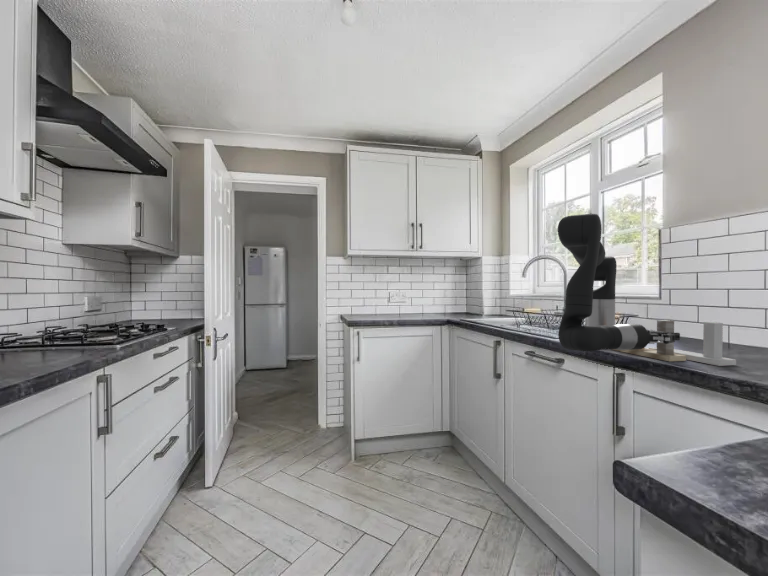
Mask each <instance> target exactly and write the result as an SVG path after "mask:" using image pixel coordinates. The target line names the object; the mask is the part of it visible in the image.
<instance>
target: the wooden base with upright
mask: <svg viewBox="0 0 768 576" xmlns="http://www.w3.org/2000/svg"><path fill="white" fill-rule="evenodd" d="M656 331H663V332H664V333H667V332H669V333H675V320H669V319H668V320H665V319H658V320H656ZM656 347H657V350H652V349H649V348H646V347H645V348H643V349H634V350H616V349H610V350H612V351H617V352H621V353H627V354H630V355H631V354H632V355H636V356H642V357H645V358H649V359H650V358H651V359H655V360H660V361H665V362H686V361H687V360H686V356H685V355H680V354H674V349H675V342H673V343H669V344H665V343H656Z"/></svg>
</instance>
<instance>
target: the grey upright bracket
mask: <svg viewBox="0 0 768 576" xmlns="http://www.w3.org/2000/svg"><path fill="white" fill-rule="evenodd" d="M723 324H724V323H723V322H714V321H706V322H705V321H704V322H703V331H702V332H703V340H702V343H703V344H702V351H703V353H701V352H700V353H699V352H694V351H688V350H681V349H677V348H674V354H680V355H685V356H686V361H687V360H688V361H691V362H698V363H703V364H708V365H712V366H718V367H722V366H736V365H737V359H735V358H728V357H723V340H724V339H723V338H724V337H723V334H724V332H723V331H724V328H723V326H724V325H723ZM648 349H652V350H657V346H656V347H648Z"/></svg>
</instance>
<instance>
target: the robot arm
mask: <svg viewBox="0 0 768 576" xmlns="http://www.w3.org/2000/svg"><path fill="white" fill-rule="evenodd" d="M557 225H558V226H557V236H558V239H559V241H560V243H561V245H562V246H563V247H564V248H565V249H567V250H568V251H569V252H570V253H571V254H572V256H573V258H574V259H575V261H576V262H577V263H578V265H579V266H578V268H577V269H576V270H575V272H574V273H573V275H572V276H571V277H570V279H569V281H568V282H567V285H566V289H565V300H564V303H565V308H564V313H563V314H562V317H561V321H560V325H559V328H558V334H557V335H558V341H559V343H560V345H561V346H562V347H563V348H564V349H566V350H569V351H570V350H571V351H578V352H596V351H600V350H604V351H605V350H611V349H616V350H634V349H643V348H646V347H647V346H648V344H649V345H654V344H657V343H665V344H669V343H673V342H674V343H675V342H676V341H680V339H681V333H680V332H674V333H669V332H667V333H664V332H663V331H657V330H654V329H647V328H646V327H645V326H643V325H642V324H640V323H618V324H617V323H616V281H617V280H616V279H617V260H616V258H615V257H614V256H606V250H605V247H604V245H603V243H602V242H601V241H602V229H603V228H602V221H601V217H600V216H599V214H597V213H587V214H586V213H585V214H572V215H567V216H565V217H563V218H561V219H560V220H559V223H558V224H557ZM594 282H605V283H604V284H603V285H602V286H600V287H597V288H596V289H594V285H595V283H594ZM583 321H585V324H584V325H583ZM616 350H615V351H616Z"/></svg>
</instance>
